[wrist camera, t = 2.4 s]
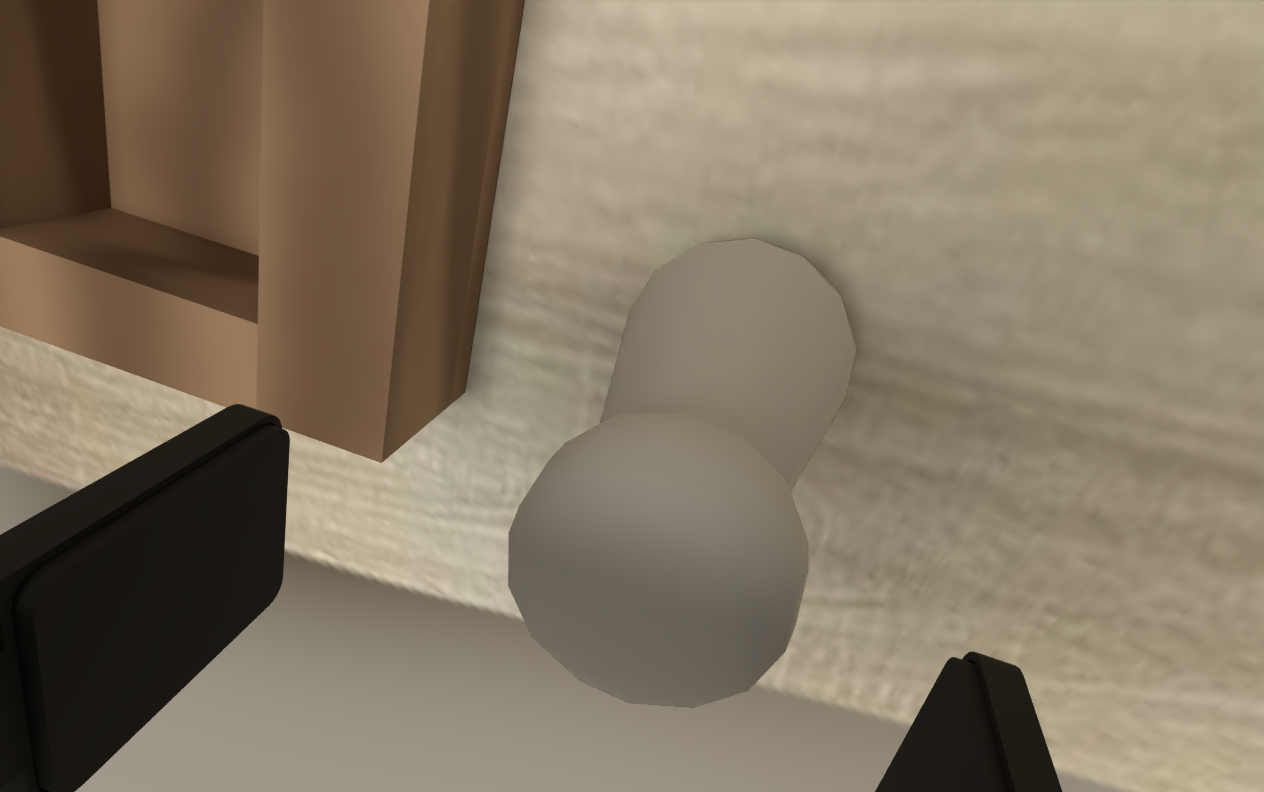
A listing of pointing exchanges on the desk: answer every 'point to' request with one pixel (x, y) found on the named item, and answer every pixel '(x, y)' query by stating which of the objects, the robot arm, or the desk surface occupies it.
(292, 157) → the socket block
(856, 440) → the desk surface
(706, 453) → the grey rounded peg
